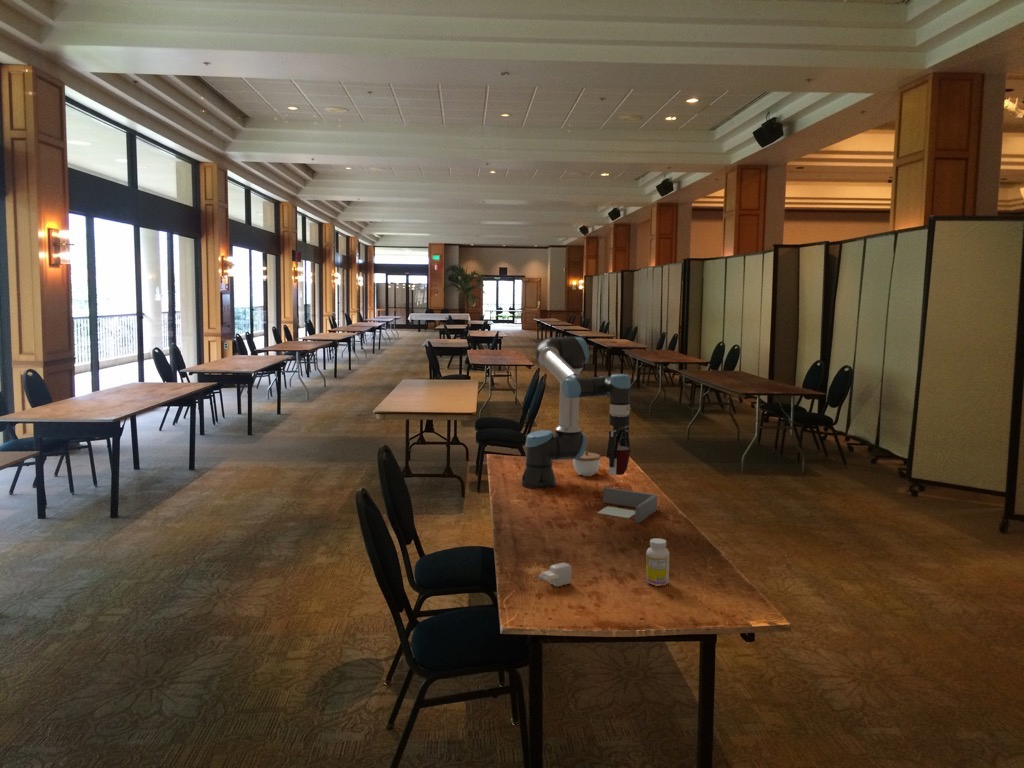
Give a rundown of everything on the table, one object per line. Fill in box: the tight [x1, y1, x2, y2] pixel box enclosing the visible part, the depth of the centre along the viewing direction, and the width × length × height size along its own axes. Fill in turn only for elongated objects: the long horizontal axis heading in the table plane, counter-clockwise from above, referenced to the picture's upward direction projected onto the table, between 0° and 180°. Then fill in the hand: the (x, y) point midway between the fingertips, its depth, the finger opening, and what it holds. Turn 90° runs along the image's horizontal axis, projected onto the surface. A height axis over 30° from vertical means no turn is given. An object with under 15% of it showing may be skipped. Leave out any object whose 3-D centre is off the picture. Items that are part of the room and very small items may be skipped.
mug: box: [616, 445, 631, 476], centre depth 290 cm, size 10×8×10 cm
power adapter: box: [534, 562, 573, 587], centre depth 219 cm, size 11×5×6 cm, turn 122°
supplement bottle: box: [645, 537, 670, 585], centre depth 222 cm, size 7×7×13 cm
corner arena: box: [597, 486, 658, 524], centre depth 293 cm, size 22×20×6 cm
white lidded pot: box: [572, 450, 601, 477], centre depth 352 cm, size 13×13×11 cm
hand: (618, 472), depth 290 cm, fingers closed on mug, 10 cm apart
